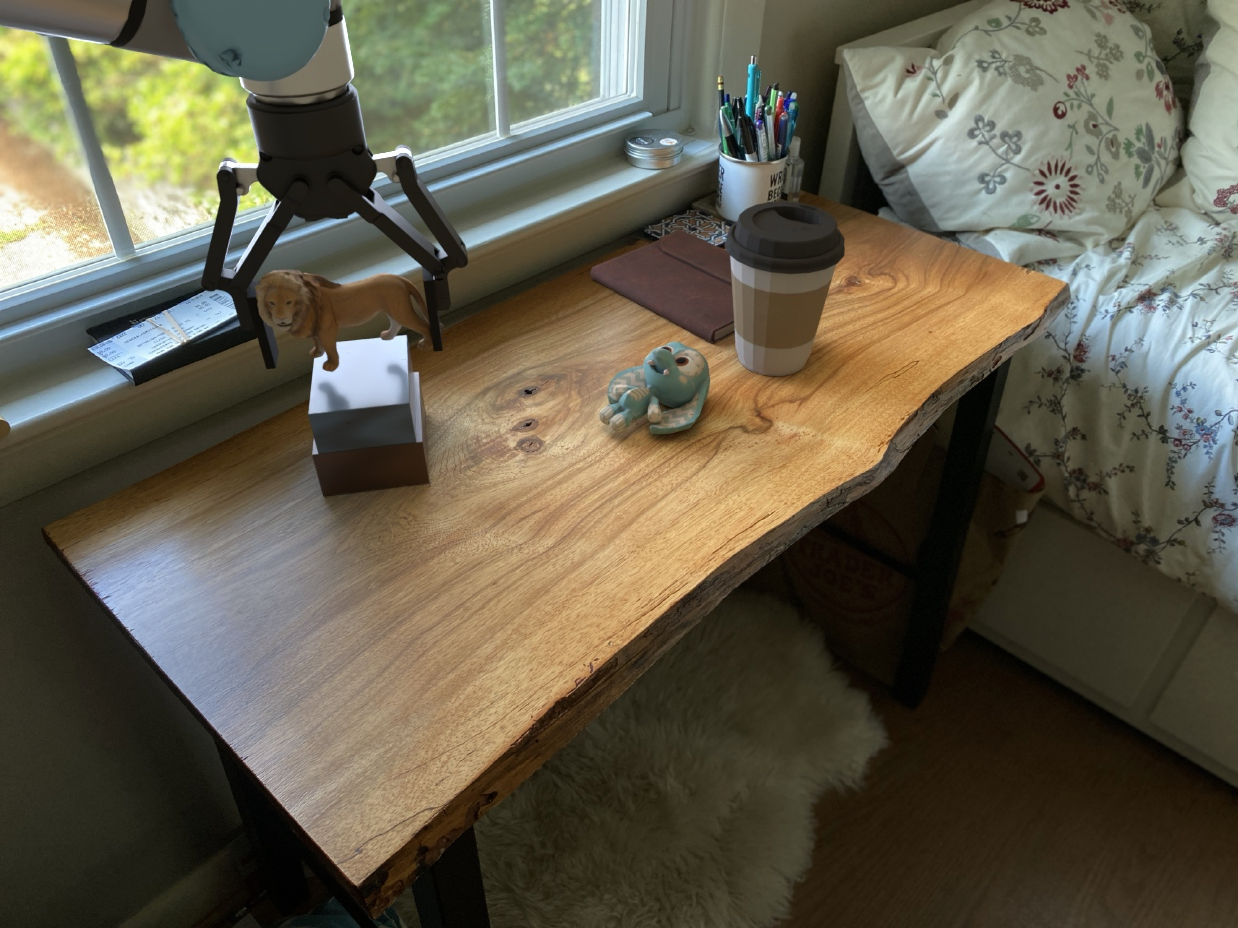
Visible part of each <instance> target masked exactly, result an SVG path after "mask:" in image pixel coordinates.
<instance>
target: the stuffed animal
mask: <svg viewBox="0 0 1238 928" xmlns="http://www.w3.org/2000/svg"><path fill="white" fill-rule="evenodd" d="M710 376H711V375H710V367H709V362H708V360H707V359H706V357H705V356H704V355H703V354H702V353H701V352H700V351H698V350H697V349H695V348H692V347H691V346H688V345H686V344H684V343H682V342H680V341H673V340H672V341H670V342H668V343H667V344H664V345H661V346H658V347H655V348H653V349H652V350H651V351H650V352H649V353H648V354H647V355H646V356H645V358H644V359H643V364H641V365H637V366H631V367H628V368H626V369H623V370H621V371H619V372H617V373H616V374H615V375H614V377H612V379H611V380H610V381H609V383H608V388H607V391H606V395H607V399H608V403H609V404H607V405H606V406H604V407H602V408H601V409H600V410H599V412H598V418H599V420H600V422H601V423H602V424H604V425H606V426H608V425H609V426H610V429H611V430H612V431H613V432H616V433H619V434H620V433H621V432H624V431H625V430H626V429H627V428H628V427H629V425H630V424H631V423H632V421H633V420H638V419H642V418H643V417H645V416H646V415H647V419H648V420H649V422H650V423H651V424H650V426H649V433H650V434H651V435H671V434H674V433H679V432H681V431H685V430H686V431H687V430H688V429H691V428H692V427H693V426H694V424H695V423H696V422H697V421H698V419H699V418H700V414H701V412H702V408H703V406H704V404H705V402H706V400H707V397H708V395H709V393H710V387H711V377H710ZM660 404H661V405H663V406H666V407H668V408H671V409H667V410H664V411H662V410H661V406H660Z"/></svg>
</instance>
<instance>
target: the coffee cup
mask: <svg viewBox="0 0 1238 928" xmlns="http://www.w3.org/2000/svg"><path fill="white" fill-rule="evenodd" d="M845 240H846V239H845V236H844V235H843V233H842V231H840V229H838V222H837V220H836V218H835V217H834V216H833V215H832V214H830V213H829V212H827V211H826V210H825V209H822V208H819V207H818V206H815V205H812V204H807V203H803V202H796V201H767V202H762V203H757V204H755V205H752V206H750V207H749V206H748V207H747V208H745V209H744V210H743V211H742V212H741V213H740V214H739V215H738V218H737V221H735V222H734V223H733V224H732V225H730V226H729V228H728V231H727V234H726V239H725V243H724V248H725V250H727V252H728V254H729V255H730V259H731V276H732V293H733V310H734V327H735V333H734V343H735V351H736V353H737V358H738V361H739V363H740V364H741V365H742V366H743V367H744V368H745V369H746V370H748V371H750V372H752V373H755V374H759V375H761V376H766V377H767V376H768V377H785V376H790V375H792V374H793V375H794V374H796V373H798V372H799V371H801V370H803V368H804V367H805V365H807V360H808V359H809V358H810V356H811V353H812V349H813V345H814V342H815V339H816V336H817V331H818V328H819V325H820V322H821V318H822V315H823V311H824V308H825V306H826V301H827V298H828V295H829V294H828V293H829V292H830V287H831V284H832V281H833V278H834V275H835V270H836V267H837V265H838V264H839V263H840V262H841V261H842V259H844V258H845V253H846V247H845V243H846V241H845Z"/></svg>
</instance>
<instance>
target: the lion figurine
mask: <svg viewBox="0 0 1238 928" xmlns="http://www.w3.org/2000/svg"><path fill="white" fill-rule="evenodd" d="M258 281H259V284H258V285H256V286H255V290H256V293H257V294H256V298H257V300H258V303H257V305H258V308H259V314H260V316H261V318H262V319H263V321H264V322H265V323H266V324H267V325H268V326H271V327H272V328H273V330H277V331H278V330H279V331H281V332H286V333H288V334H291V336H292V337H294V338H295V339H297V340H299V339H301V340H304V339H305V340H306V339H308V338H309V339H310V338H311V339H312V341H313V344H314V346H313V348H311V349H310V351H309V352H308V355H309V357H310V358H312V359H314V358H319V357H322V356H323V355H324V353H325V352H326V355H327V361H325V362H324V363H323V366H322V368H323V370H325V371H330V372H333V371H335V370H336V369H337V368H338V366H339V354H338V352H337V345H336V342H338V341H337V338H338V334H339V329H341V328H342V329H343V328H351V327H357V326H361V325H363V324H366V323H368V322H369V321H371V320H372V319H374V318H375V317H376V316H378V314H380V313H381V312H383V313H385V315H386V316H387V317H388V319H389V321H390V327H389V328H388V330H383V331H381V332H380V336H379V337H380V338H381V339H382V340H392V339H393V338H394V337H395V336H398V333H399V332H400V330H401V329H402V327H404V328H406V329H409V330H411V331H414V332H416V333H418V334H420V335H422V336H423V338H422V339H420V340H419V341H418V343H417V349H418V348H419V349H420V350H421V351H424V352H425V351H430V350H431V349H433V343H432V337H431V330H430V324H429V317H428V310H427V304H426V300H425V299H424V297H423V296H422V294H421V292H420V290H419V289H418V288H417V286H416V285H415V284H414V283H413V282H412V281H410V280H409V279H407V278H405V277H404V276H401V275H398V274H394V273H386V272H379V273H376V274H373V275H371V276H368V277H366V278H362V279H359V280H355V281H352V282H345V283H339V282H334V281H332V280H330V279H328V278H327V277H325V276H324V275H321V274H315V273H308V272H303V273H302V271H301V270H299V269H284V268H281V269H279V270H275V269H273V270H272V271H271V272H265V273H264V274H263V275H262V276H261V278H260V279H259V280H258ZM411 296H412V297H411ZM412 298H413V299H414V301H415V303H416V305H417V307H418V308H419V310H420V312H421V314H422V317H423V318H424V319H422V318H421V317H420V316H419V314H418V313H417V312H416V310H415V309H414V305H413V303H412ZM444 327H445V325H444V324H443V323H442V322H440V329H441V330H442V329H443V328H444Z"/></svg>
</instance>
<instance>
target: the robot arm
mask: <svg viewBox="0 0 1238 928" xmlns="http://www.w3.org/2000/svg"><path fill="white" fill-rule="evenodd" d="M343 11H344V10H343V6H342V0H0V27H2V28H7V29H8V28H9V29H13V30H19V31H25V32H31V33H34V34H36V35H39V36H41V37H47V38H48V37H50V38H51V37H58V38H64V39H70V40H75V41H80V42H81V41H82V42H87V43H93V44H99V45H105V46H110V47H112V48H115V49H120V50H125V51H130V52H136V53H141V54H147V55H152V56H159V57H164V58H169V59H175V60H181V61H185V62H186V61H187V62H191V63H196V64H200V65H203V66H206V67H207V68H208V69H209V70H210V71H212V72H214V73H216V74H218V75H221V76H224V77H229V78H239V81H240V85H241V87H242V88H243V89H244V90H245V91H247V92H248V96H247V97H246V99H245V104H246V108H247V113H248V117H249V121H250V125H251V129H252V132H253V137H254V140H255V145H256V149H257V153H258V163H239V162H238V161H236V159H234V157H224V158H223V159H222V160H221V162H220V164H219V167H218V170H217V172H216V178H215V179H216V183H217V190H218V195H219V204H218V207H217V212H216V217H215V221H214V226H213V229H212V233H211V238H210V242H209V247H208V251H207V255H206V259H205V264H204V268H203V273H202V275H201V281H200V286H201V288H202V289H203V290H204V291H206V292H210V293H211V292H216V291H221V292H224V293H226V294H228V295H229V296H230V297H231V299H232V302H233V306H234V309H235V312H236V316H237V319H238V323H239V326H240V327H241V328H242V330H243V331H253V330H255V331H254V332H255V335H256V338H257V342H258V345H259V349H260V352H261V355H262V359H263V363H264V366H265V369H266V370H273V369H274V370H275V369H277V366H278V365H277V364H278V359H279V346H278V343H277V339H276V335H275V332H274V328H272V327H271V326H268V325H267V324H266V323H265V322H264V321H263V319H262V318H261V316H260V314H259V308H258V305H257V303H258V300H257V298H256V294H257V293H256V290H255V286H256V285H258V284H259V281H260V280H254V279H255V277H256V275H257V274H258V272H259V270H260V269H261V267H263V266H262V265H263V264H264V262H265V261H266V259H267V258H268V256H269V254H270V253H271V251H272V250H273V248H274V246H275V245H276V243H277V242H278V241H279V238H280V236H281V235H282V234H283V232H285V230H286V229H287V227H288V225H289V224H290V223H291V221H292V219H293V218H294V216H295V217H296V218H298V219H301V220H304V222H305V223H311V222H317V221H320V220H324V219H333V220H345V219H346V220H347V219H349V216H351V215H353V214H354V213H356V214H357V215H358V216H359V217H361V218H362V219H363V220H364V221H365V222H367V223H368V224H371V225H373V226H375V227H376V228H377V229H378V230H379V231H380V232H382V233H383V234H384V236H386V237H387V238H388V239H389V240H391V241H392V242H393V243H394V244H395V245H396V246H397V247H399V248H400V249H401V250H402V251H403V252H405V253H406V254H407V255H408V256H409V257H411V258H412V259H413V261H415V262H416V263H417V264H418V265H420V266H421V269H422V270H421V272H422V283H423V290H424V296H425V304H426V306H427V310H428V317H429V324H430V330H431V337H432V343H433V347H432V350H433V352H434V353H435V352H443V351H444V348H443V337H442V328H441V329H440V323H441V321H440V315H439V312H441V311H443V312H445V311H449V310H450V308H451V305H452V303H451V293H450V286H449V278H448V276H449V274H450V272H451V271H453V270H455V269H457V268H458V269H464V268H465V267H467V266H468V264H469V256H468V250H467V245H466V244H465V242H464V240H463V239H462V238H461V236H460V234H459V233H458V232H457V229H455V227H454V226H453V224H452V223H451V221H450V220H449V218H448V217H447V215H446V214H445V213H444V210H443V209H442V208H441V206H440V205H439V204H438V202H437V201H436V199H435V198H434V196H433V194H432V193H431V192H430V190H429V188H428V187H427V185H426V184H425V183H424V181H423V180H422V178H421V177H420V175H419V174H418V171H417V168H416V164H415V160H414V157H413V152H412V150H411V148H410V147H409V146H408V145H406V144H399V145H397V146H396V148H395V150H393V151H389V152H384V153H383V152H382V153H378V154H374V153H373V152H372V151H371V149H370V148H369V145H368V143H367V138H366V133H365V127H364V122H363V121H364V120H363V115H362V111H361V104H360V99H359V93H358V90H357V88H356V87H355V86H353V84H352V83H351V82H352V80H353V79H354V77H355V70H354V65H353V59H352V53H351V48H350V47H351V46H350V42H349V36H348V31H347V25H346V19H345V15H344V12H343ZM378 173H382V174H384V175H386V176H387V179H388V180H389V181H390V182H391V183H394V184H400V187H401V189H402V191H403V193H404V195H405V196H406V198H407V200H408V201H409V202H410V204H411V205H412V207H413V208H414V210H415V211H416V213H417V214H418V215H419V217H420V218H421V220H422V221H423V222H424V224H425V225H426V227H427V228H428V230H429V231H430V232H431V234H432V236H433V237H434V238H435V240H436V241H437V243H438V244H439V246H440V247H441V248H442V250H440V249H439V248H438V247H437V246H436V245H435V244H433V243H432V242H431V241H430V240H429V239H428V238H427V237H425V236H424V235H423V233H421V232H420V231H419V230H417V228H415V227H414V226H413V224H411V223H410V222H409V221H407V219H405V218H404V217H403V216H402V215H401V214H400V213H398V212H397V211H396V210H395V209H394V208H393V207H391V206H390V205H389V204H388V203H387V202H386V201H385V200H384V199H383V198H382V196H381V194H380V193H379V192H377V191H376V190H375V189H374V188H373V186H372V184H373V183H374V181H375V179H376V177H377V175H378ZM257 182H258V183H259V185H260V186H261V187H262V188H264V190H266V191H267V192H268V193H269V194H270V195H271V196H272V197H273V198H274V199H275V200H274V201H273V202H272V205H271V207H270V209H269V211H268V213H267V215H266V216H265V218H264V219H263V221H262V222H261V224H260V226H259V227H258V230H257V231H256V232H255V234H254V235H253V238H252V240H251V241H250V242H249V244H248V245H247V247H246V249H245V251H244V252H243V254H242V256H241V257H240V258H239V260H238V262H237V264H236V265H235V267H233V269H229V268H225V263H226V258H227V254H228V251H229V248H230V243H231V239H232V234H233V231H234V226H235V223H236V218H237V214H238V210H239V206H240V201H241V199H242V198H241V197H244V196H247V195H248V194H249V193H250V190H251V187H252V185H253V183H257Z"/></svg>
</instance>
